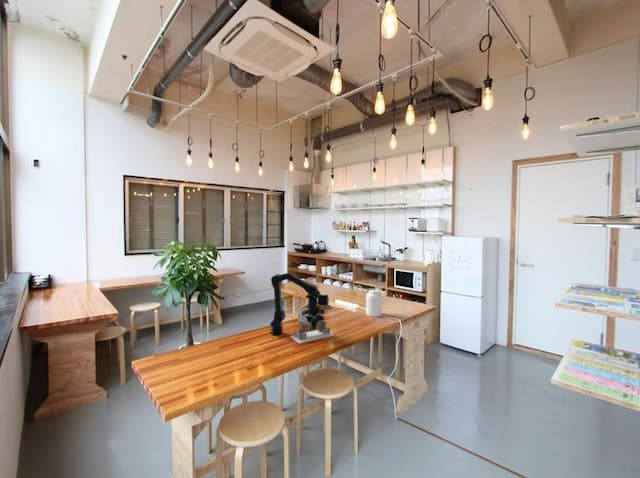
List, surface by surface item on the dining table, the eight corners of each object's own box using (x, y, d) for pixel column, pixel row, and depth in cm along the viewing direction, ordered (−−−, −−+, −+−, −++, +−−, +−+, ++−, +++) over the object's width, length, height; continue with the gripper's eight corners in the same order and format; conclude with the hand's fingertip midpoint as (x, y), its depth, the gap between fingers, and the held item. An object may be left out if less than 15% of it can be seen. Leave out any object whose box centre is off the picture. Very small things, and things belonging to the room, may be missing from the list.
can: (363, 313, 249) (363, 289, 248) (375, 311, 255) (376, 288, 254) (371, 317, 238) (372, 292, 237) (384, 315, 243) (385, 291, 242)
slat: (301, 333, 192) (301, 325, 192) (299, 331, 195) (299, 323, 195) (325, 328, 201) (325, 321, 201) (323, 327, 204) (323, 319, 203)
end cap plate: (299, 343, 186) (299, 336, 186) (290, 337, 196) (290, 330, 196) (334, 335, 200) (334, 328, 200) (324, 329, 210) (324, 323, 210)
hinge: (302, 323, 224) (299, 309, 226) (298, 324, 227) (295, 310, 229) (318, 318, 235) (315, 305, 237) (314, 319, 238) (312, 306, 240)
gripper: (331, 306, 194) (330, 330, 194) (315, 299, 209) (315, 321, 210) (316, 308, 188) (316, 333, 188) (301, 301, 203) (301, 324, 204)
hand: (312, 328), depth 198 cm, fingers closed on slat, 3 cm apart
